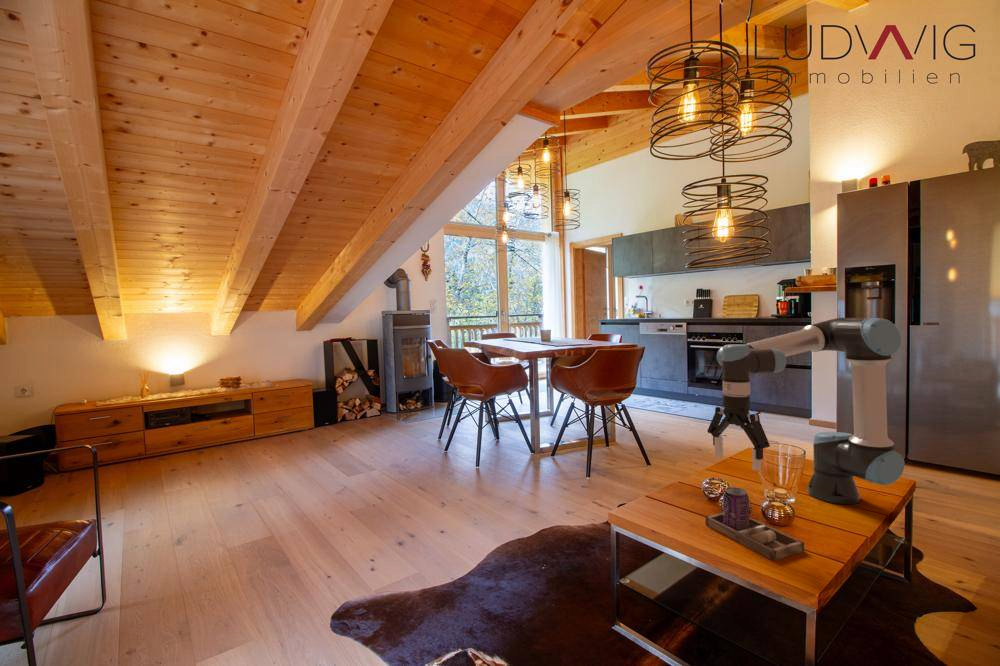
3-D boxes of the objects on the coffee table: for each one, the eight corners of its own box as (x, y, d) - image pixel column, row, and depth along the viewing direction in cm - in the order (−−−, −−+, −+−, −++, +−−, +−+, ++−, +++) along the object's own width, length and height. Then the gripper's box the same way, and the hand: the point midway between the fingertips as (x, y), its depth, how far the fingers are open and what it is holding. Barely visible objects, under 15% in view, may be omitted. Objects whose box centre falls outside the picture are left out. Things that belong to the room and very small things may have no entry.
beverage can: (726, 521, 145) (726, 484, 145) (751, 528, 141) (751, 489, 140) (720, 530, 140) (720, 491, 139) (746, 537, 135) (746, 497, 135)
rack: (733, 520, 148) (733, 510, 148) (803, 554, 127) (804, 542, 127) (705, 527, 144) (705, 516, 144) (773, 564, 122) (773, 551, 122)
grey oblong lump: (774, 543, 132) (765, 535, 135) (778, 535, 131) (769, 527, 134) (757, 548, 130) (748, 540, 132) (760, 540, 129) (751, 532, 131)
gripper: (695, 390, 151) (696, 453, 152) (764, 402, 128) (765, 477, 128) (712, 387, 153) (713, 450, 154) (783, 400, 130) (783, 473, 131)
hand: (736, 462), depth 141 cm, fingers open, 13 cm apart
